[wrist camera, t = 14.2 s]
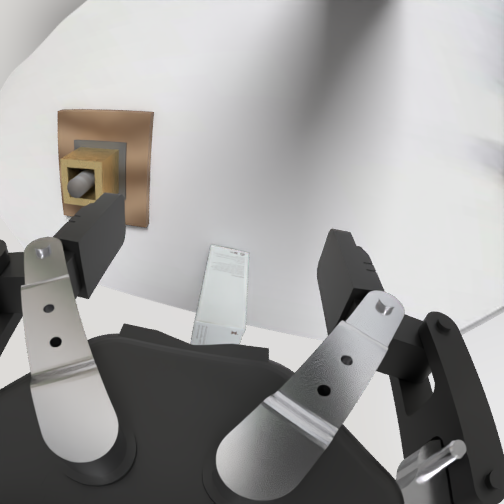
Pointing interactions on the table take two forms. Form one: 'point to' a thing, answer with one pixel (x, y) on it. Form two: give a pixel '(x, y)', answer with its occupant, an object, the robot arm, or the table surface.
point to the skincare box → (222, 298)
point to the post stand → (110, 137)
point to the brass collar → (104, 168)
